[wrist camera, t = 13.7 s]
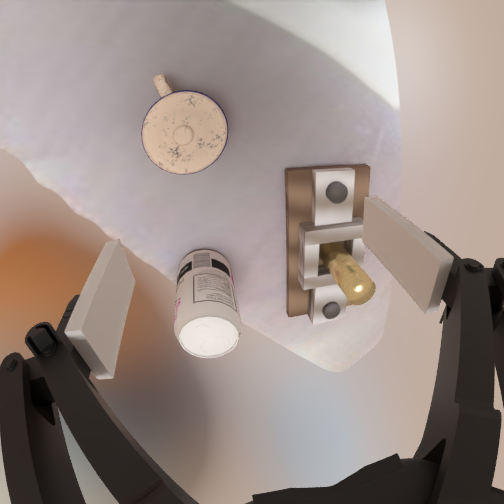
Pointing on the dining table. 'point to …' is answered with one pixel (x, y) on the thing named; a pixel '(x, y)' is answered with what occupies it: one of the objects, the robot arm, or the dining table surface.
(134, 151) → the dining table surface
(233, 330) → the supplement can
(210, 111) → the teacup with lid
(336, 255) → the brass pin
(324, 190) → the pin insertion fixture
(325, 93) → the dining table surface
